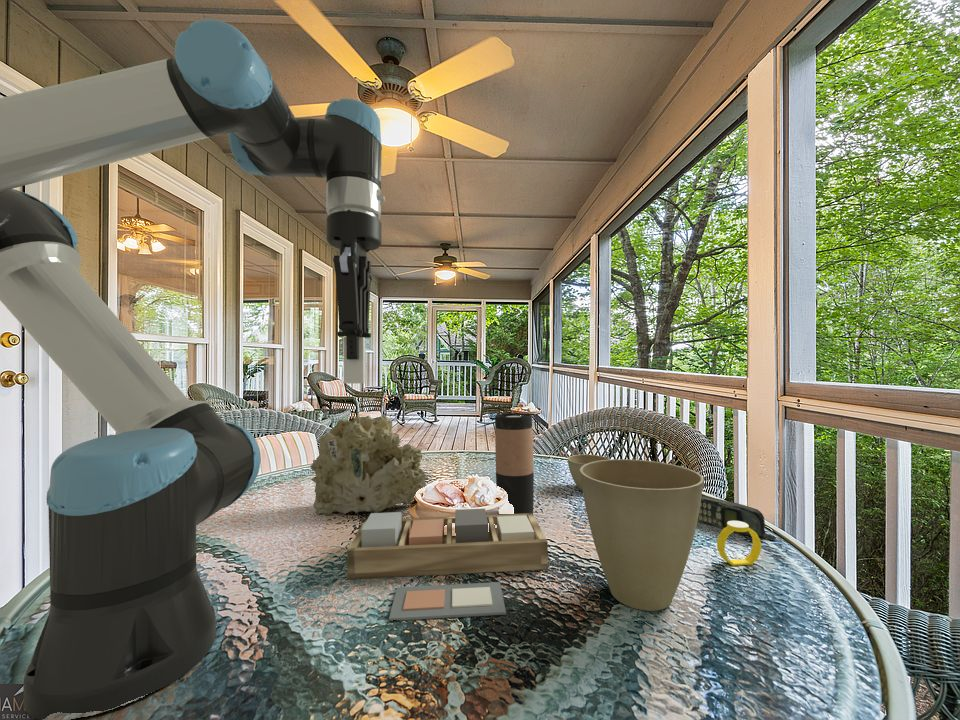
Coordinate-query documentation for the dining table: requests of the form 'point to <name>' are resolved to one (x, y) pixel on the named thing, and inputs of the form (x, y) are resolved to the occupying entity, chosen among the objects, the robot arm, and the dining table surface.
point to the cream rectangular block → (514, 528)
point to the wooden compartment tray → (448, 554)
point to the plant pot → (642, 526)
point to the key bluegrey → (382, 529)
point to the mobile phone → (731, 515)
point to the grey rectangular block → (471, 526)
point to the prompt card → (447, 601)
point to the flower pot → (578, 461)
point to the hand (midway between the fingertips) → (354, 383)
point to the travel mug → (515, 459)
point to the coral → (365, 468)
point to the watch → (739, 527)
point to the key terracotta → (427, 532)
